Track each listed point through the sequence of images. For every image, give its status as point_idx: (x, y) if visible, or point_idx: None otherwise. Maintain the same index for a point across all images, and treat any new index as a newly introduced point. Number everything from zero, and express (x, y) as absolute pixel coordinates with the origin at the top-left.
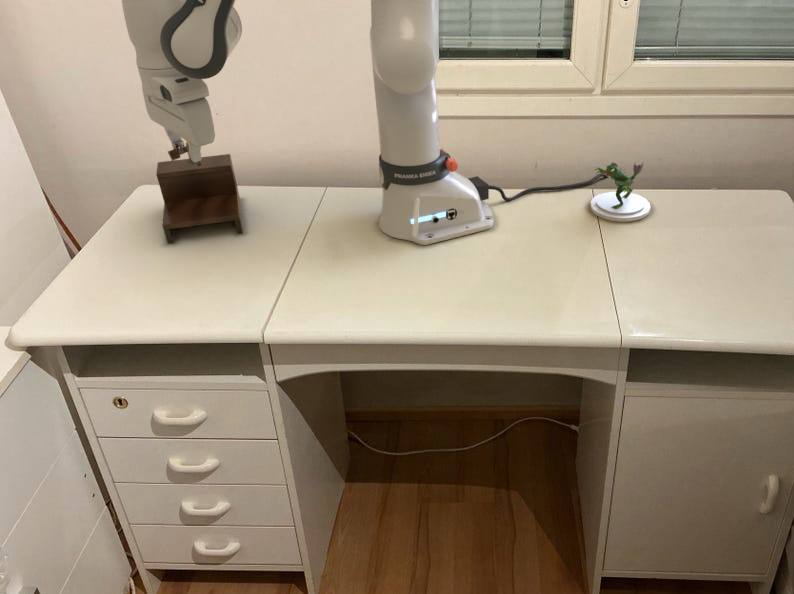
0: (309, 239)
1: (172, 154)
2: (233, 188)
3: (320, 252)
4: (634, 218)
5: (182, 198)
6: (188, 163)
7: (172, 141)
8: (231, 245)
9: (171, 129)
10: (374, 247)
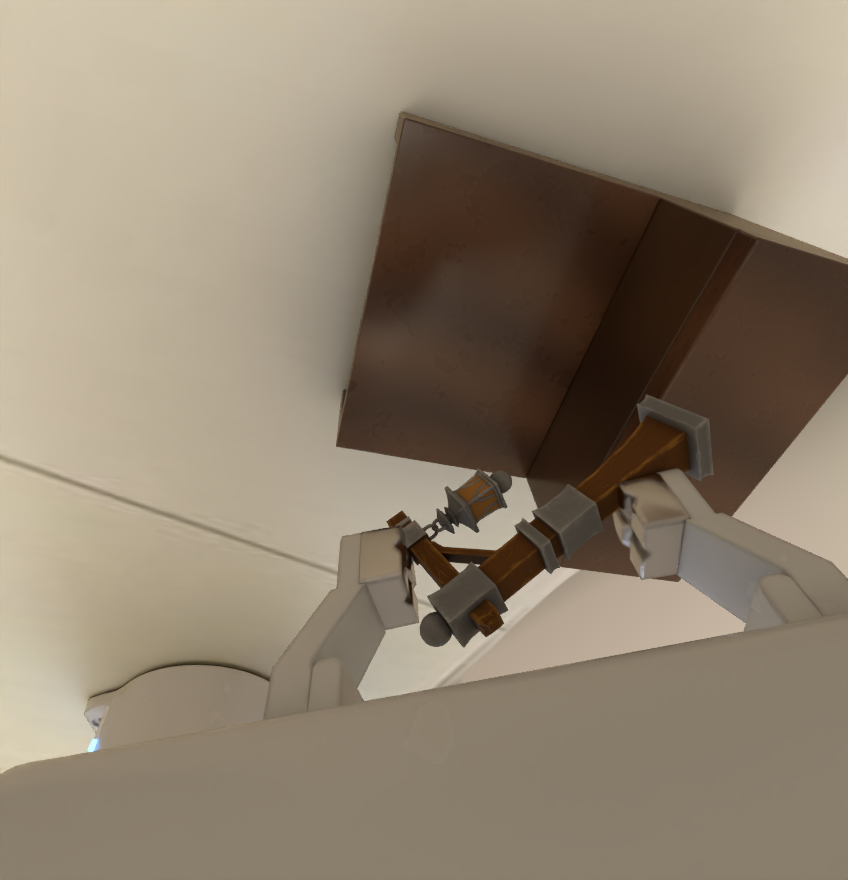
0: (213, 542)
1: (665, 431)
2: (534, 485)
3: (119, 546)
4: None
5: (621, 290)
6: (485, 477)
7: (688, 525)
8: (266, 350)
9: (556, 707)
10: (112, 636)
